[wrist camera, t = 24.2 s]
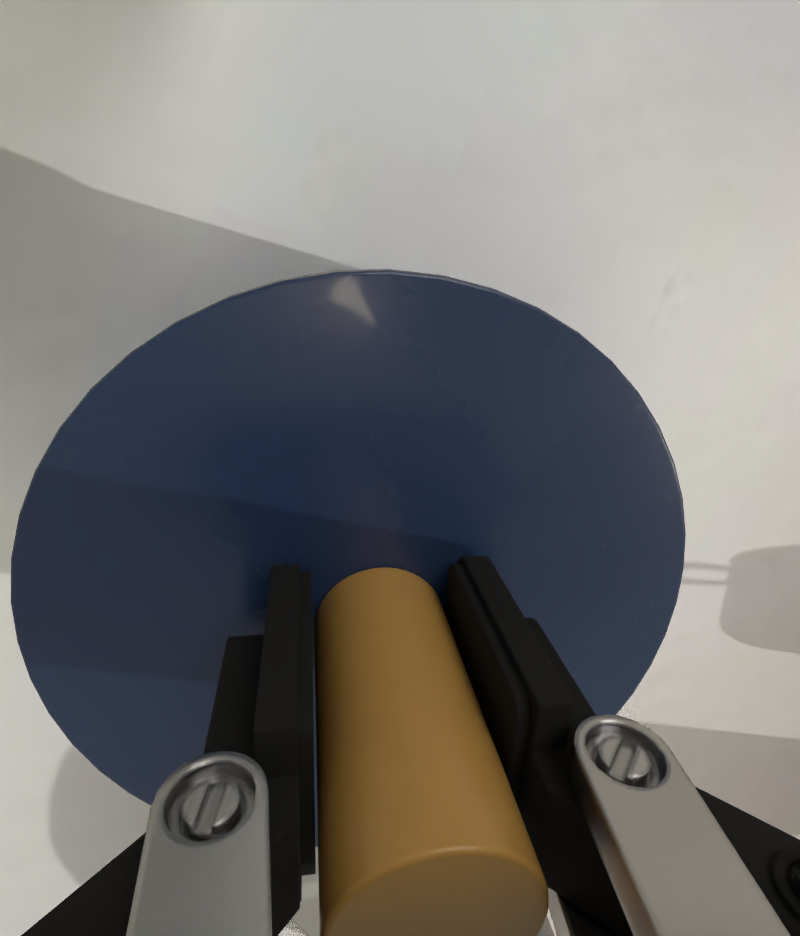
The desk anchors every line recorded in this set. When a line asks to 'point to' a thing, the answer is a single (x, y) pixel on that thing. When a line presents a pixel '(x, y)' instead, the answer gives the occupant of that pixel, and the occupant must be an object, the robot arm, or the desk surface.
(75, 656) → the tin lid
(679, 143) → the desk surface
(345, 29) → the desk surface
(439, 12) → the desk surface
